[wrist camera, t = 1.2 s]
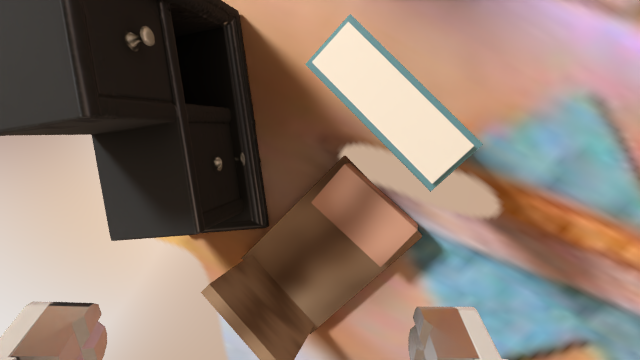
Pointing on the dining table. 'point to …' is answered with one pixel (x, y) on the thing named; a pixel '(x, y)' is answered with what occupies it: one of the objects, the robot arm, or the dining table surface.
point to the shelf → (312, 262)
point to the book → (392, 103)
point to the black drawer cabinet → (141, 106)
